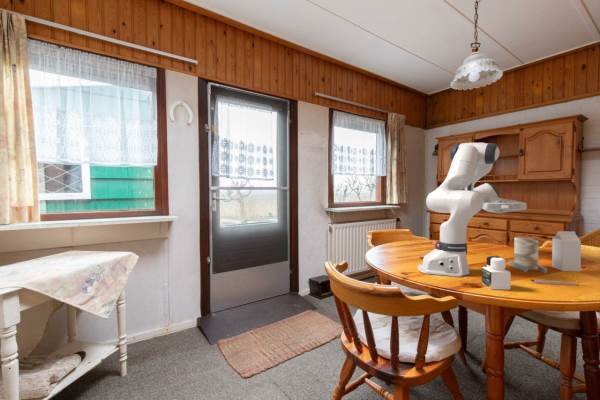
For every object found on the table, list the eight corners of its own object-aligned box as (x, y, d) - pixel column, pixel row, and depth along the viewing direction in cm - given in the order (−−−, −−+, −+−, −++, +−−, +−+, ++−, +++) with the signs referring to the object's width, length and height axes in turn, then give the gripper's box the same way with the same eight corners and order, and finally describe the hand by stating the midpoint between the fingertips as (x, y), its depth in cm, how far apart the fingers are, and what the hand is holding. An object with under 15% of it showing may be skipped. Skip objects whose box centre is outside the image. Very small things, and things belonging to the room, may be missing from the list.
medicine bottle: (481, 283, 114) (481, 254, 114) (500, 284, 113) (500, 255, 113) (490, 289, 107) (491, 259, 107) (510, 290, 106) (511, 259, 106)
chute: (536, 283, 114) (536, 276, 114) (503, 266, 140) (503, 260, 140) (576, 285, 111) (576, 278, 111) (535, 267, 137) (535, 261, 137)
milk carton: (580, 273, 126) (581, 232, 126) (562, 273, 128) (563, 232, 127) (568, 269, 133) (569, 230, 133) (551, 268, 134) (552, 230, 134)
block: (523, 269, 130) (523, 240, 129) (514, 265, 138) (514, 237, 137) (538, 270, 129) (538, 240, 128) (528, 265, 136) (528, 237, 136)
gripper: (478, 200, 162) (488, 201, 148) (518, 200, 157) (532, 200, 144) (478, 210, 162) (488, 212, 148) (518, 211, 157) (532, 212, 144)
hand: (510, 206), depth 146 cm, fingers closed
